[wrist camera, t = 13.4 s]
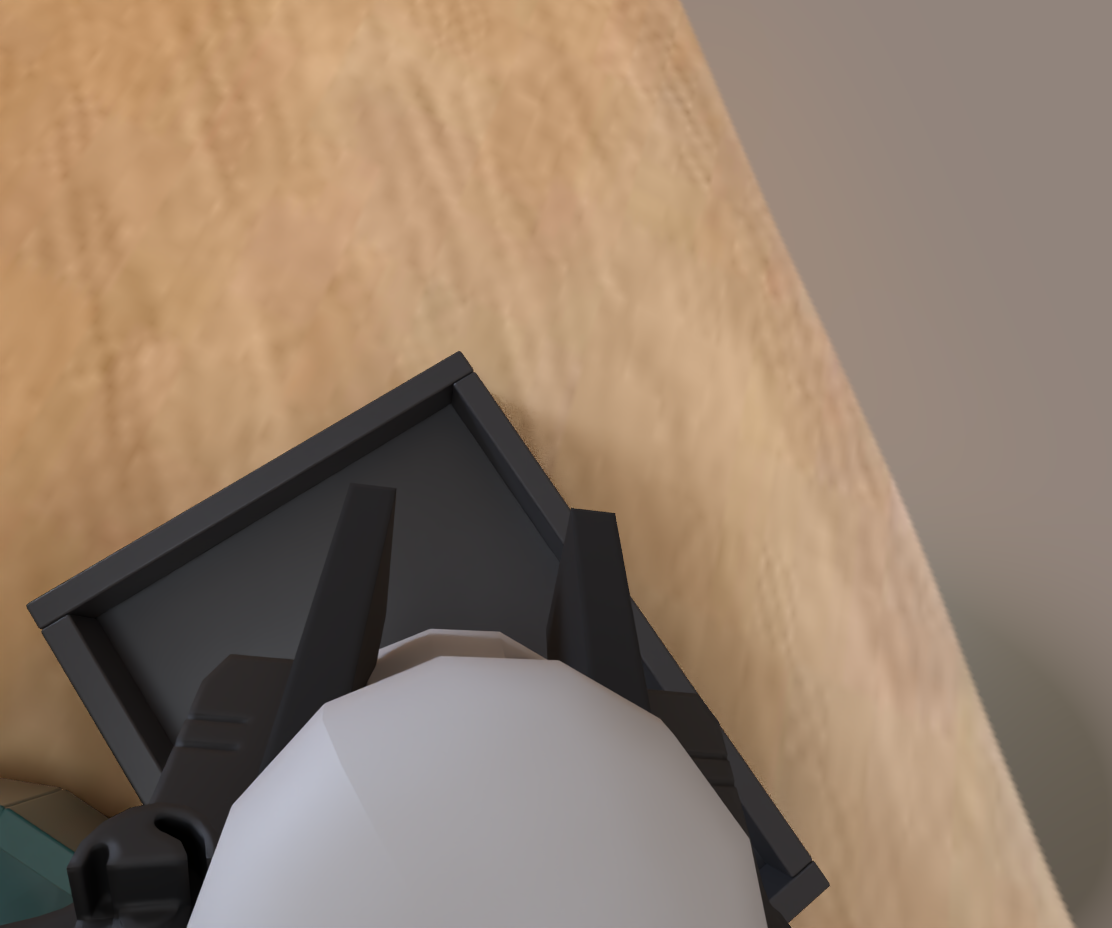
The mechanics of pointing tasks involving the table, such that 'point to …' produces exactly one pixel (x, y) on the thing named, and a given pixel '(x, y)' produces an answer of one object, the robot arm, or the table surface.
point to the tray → (297, 562)
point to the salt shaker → (480, 808)
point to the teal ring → (38, 846)
